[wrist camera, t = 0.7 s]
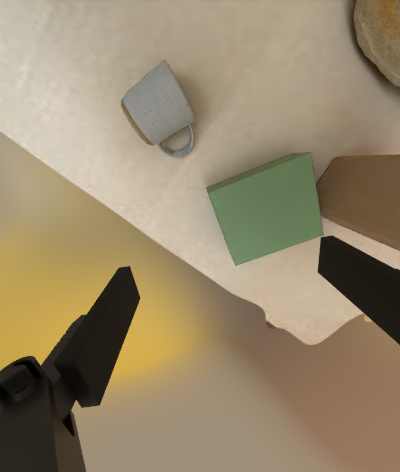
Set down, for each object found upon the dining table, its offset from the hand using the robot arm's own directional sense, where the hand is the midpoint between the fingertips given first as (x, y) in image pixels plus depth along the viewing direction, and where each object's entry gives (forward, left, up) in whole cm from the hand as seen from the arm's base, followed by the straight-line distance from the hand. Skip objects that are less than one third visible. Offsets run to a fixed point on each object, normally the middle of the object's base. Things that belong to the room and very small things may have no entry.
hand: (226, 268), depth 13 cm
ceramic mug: (-14, -1, -25) cm, 28 cm away
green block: (+5, +9, -24) cm, 26 cm away
